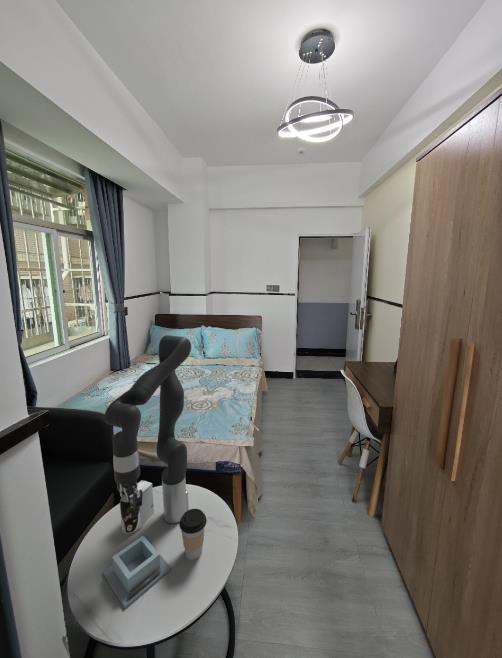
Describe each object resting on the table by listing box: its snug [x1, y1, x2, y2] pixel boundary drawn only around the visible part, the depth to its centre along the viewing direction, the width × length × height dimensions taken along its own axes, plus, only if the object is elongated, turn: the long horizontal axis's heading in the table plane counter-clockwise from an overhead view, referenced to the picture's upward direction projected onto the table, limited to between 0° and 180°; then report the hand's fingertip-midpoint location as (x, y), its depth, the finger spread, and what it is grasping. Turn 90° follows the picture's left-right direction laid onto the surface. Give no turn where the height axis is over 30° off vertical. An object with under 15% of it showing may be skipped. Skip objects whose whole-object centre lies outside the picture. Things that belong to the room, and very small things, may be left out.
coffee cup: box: [179, 508, 208, 561], centre depth 104 cm, size 9×9×15 cm
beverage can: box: [119, 494, 141, 534], centre depth 95 cm, size 6×6×12 cm
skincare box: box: [137, 479, 155, 530], centre depth 118 cm, size 8×6×15 cm
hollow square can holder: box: [102, 535, 172, 610], centre depth 98 cm, size 16×16×6 cm
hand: (130, 510), depth 95 cm, fingers closed on beverage can, 5 cm apart
